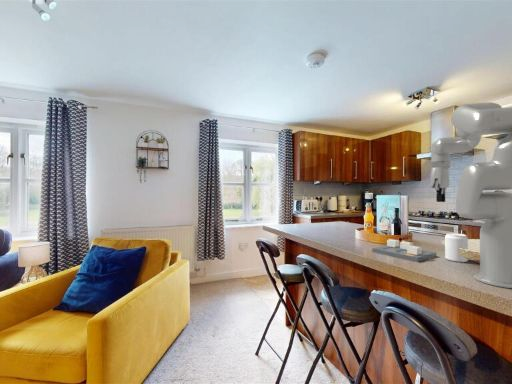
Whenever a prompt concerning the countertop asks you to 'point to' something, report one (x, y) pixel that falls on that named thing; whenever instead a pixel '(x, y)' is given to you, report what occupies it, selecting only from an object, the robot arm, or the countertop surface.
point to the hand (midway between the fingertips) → (440, 201)
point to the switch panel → (403, 253)
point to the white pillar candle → (455, 246)
